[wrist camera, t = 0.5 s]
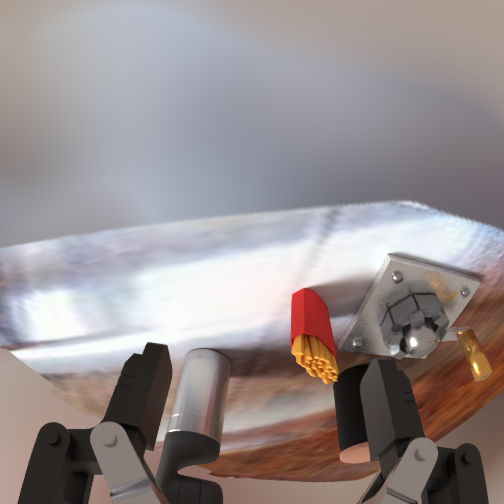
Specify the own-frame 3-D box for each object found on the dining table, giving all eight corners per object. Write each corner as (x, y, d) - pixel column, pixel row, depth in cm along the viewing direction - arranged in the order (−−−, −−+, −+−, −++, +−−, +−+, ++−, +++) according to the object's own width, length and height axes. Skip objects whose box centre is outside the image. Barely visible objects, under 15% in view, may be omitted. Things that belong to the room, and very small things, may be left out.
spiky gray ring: (374, 342, 50) (389, 406, 39) (394, 294, 43) (420, 362, 32) (451, 339, 49) (473, 393, 38) (476, 295, 43) (508, 351, 32)
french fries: (282, 293, 47) (283, 362, 36) (306, 280, 45) (314, 350, 34) (313, 326, 51) (319, 392, 40) (335, 315, 49) (346, 382, 38)
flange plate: (422, 352, 54) (433, 384, 47) (337, 344, 53) (343, 380, 46) (477, 277, 43) (497, 308, 36) (387, 253, 42) (404, 289, 35)
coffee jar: (358, 394, 63) (368, 464, 48) (322, 384, 60) (327, 461, 46) (391, 369, 57) (408, 444, 42) (355, 358, 55) (369, 441, 40)
